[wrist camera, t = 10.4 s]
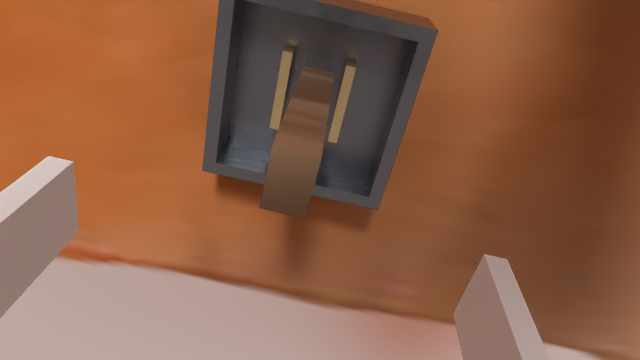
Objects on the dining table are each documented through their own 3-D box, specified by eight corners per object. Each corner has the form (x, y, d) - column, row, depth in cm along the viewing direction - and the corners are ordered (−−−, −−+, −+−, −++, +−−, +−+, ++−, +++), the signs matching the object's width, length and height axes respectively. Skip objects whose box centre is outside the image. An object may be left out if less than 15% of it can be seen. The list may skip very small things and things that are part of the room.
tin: (237, -28, 27) (221, -22, 23) (428, 18, 27) (438, 30, 24) (217, 147, 32) (202, 170, 29) (375, 183, 33) (377, 210, 30)
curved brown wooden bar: (303, 65, 28) (272, 145, 18) (334, 73, 28) (321, 158, 18) (293, 109, 30) (259, 208, 19) (323, 117, 30) (305, 218, 19)
